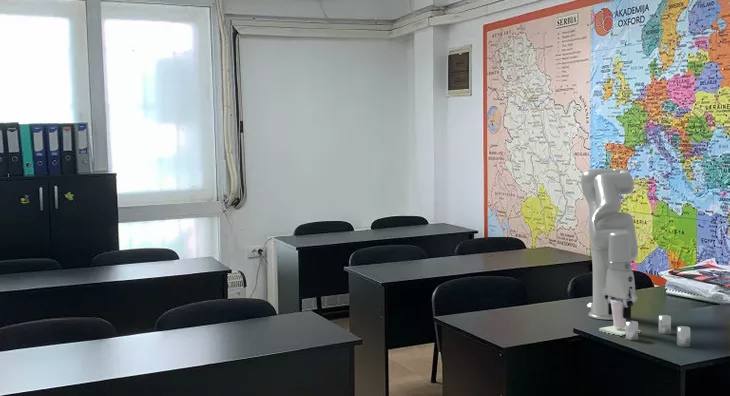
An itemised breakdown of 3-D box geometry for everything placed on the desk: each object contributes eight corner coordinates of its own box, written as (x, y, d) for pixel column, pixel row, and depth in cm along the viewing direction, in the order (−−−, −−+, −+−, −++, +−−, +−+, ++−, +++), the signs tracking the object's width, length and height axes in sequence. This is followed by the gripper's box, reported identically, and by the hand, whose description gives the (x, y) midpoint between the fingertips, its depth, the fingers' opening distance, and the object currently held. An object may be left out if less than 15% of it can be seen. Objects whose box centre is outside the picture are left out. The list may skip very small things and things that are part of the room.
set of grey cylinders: (623, 338, 246) (623, 321, 245) (663, 331, 255) (663, 314, 255) (667, 351, 229) (667, 332, 229) (709, 342, 239) (709, 324, 239)
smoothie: (629, 329, 251) (629, 290, 250) (609, 328, 253) (609, 289, 252) (628, 325, 257) (628, 287, 256) (610, 324, 259) (609, 286, 258)
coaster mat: (598, 330, 257) (598, 328, 257) (618, 327, 262) (618, 324, 262) (620, 336, 248) (620, 334, 248) (640, 333, 253) (640, 330, 253)
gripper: (646, 268, 248) (646, 319, 249) (608, 262, 263) (608, 310, 264) (631, 270, 244) (631, 322, 245) (593, 264, 259) (593, 312, 261)
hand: (619, 315), depth 255 cm, fingers closed on smoothie, 6 cm apart
